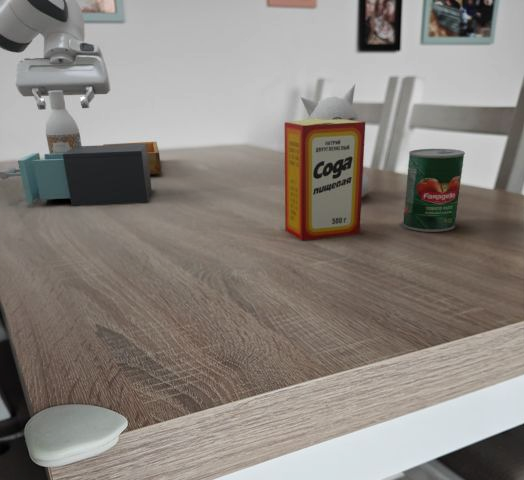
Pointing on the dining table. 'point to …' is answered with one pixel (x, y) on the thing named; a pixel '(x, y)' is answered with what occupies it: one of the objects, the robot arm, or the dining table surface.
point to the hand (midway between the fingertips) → (63, 106)
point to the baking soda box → (323, 177)
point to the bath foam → (61, 126)
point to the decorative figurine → (335, 115)
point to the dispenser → (108, 174)
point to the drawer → (41, 176)
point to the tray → (150, 156)
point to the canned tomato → (432, 189)
